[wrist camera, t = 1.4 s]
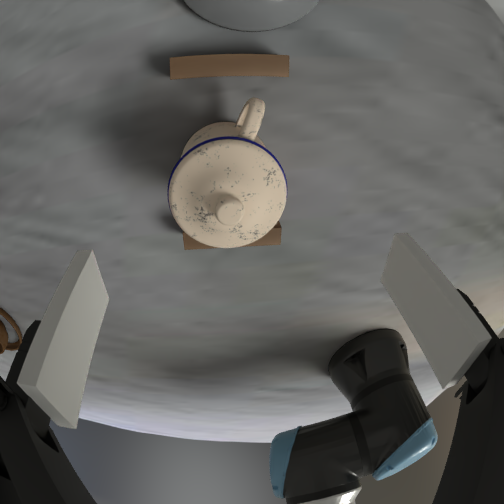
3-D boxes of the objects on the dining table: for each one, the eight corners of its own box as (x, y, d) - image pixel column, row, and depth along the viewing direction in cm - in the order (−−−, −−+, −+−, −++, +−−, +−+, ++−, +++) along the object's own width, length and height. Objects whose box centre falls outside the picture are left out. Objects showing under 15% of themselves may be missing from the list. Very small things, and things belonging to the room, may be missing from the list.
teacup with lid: (250, 213, 33) (266, 281, 24) (168, 190, 31) (149, 252, 21) (294, 110, 27) (338, 136, 18) (205, 79, 25) (199, 83, 15)
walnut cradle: (275, 230, 35) (280, 244, 32) (186, 235, 34) (184, 249, 31) (282, 56, 24) (289, 55, 22) (174, 59, 23) (169, 57, 21)
